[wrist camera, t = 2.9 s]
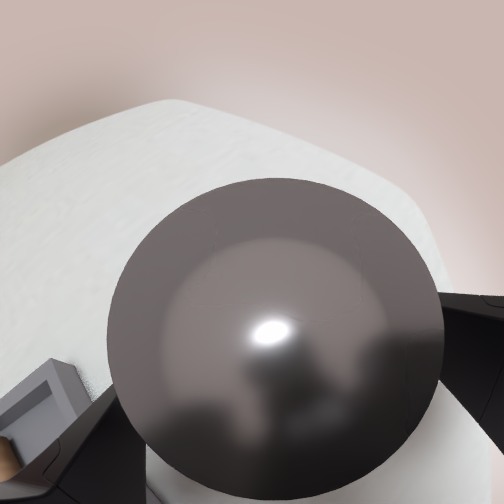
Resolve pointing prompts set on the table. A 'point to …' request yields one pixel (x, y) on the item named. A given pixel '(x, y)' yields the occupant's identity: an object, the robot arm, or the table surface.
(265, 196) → the sleeve
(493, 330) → the robot arm
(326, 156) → the table surface
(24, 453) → the tray
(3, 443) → the rod
